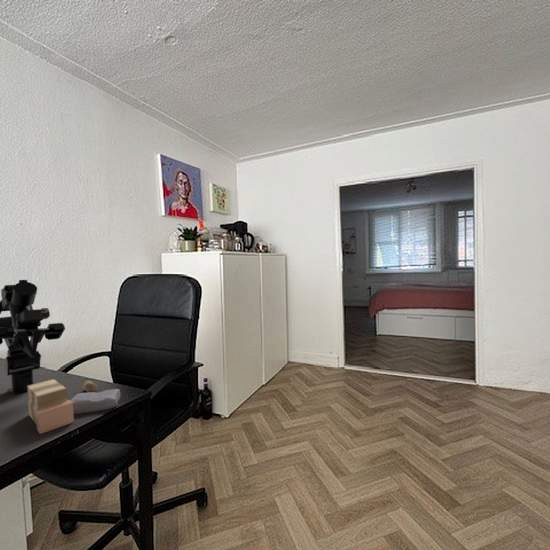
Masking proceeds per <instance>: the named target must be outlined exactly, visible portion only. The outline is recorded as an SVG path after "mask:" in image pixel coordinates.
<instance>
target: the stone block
mask: <svg viewBox="0 0 550 550" xmlns="http://www.w3.org/2000/svg"><path fill="white" fill-rule="evenodd" d="M120 400H121V390H120V389H119V388H111V389H105V390H103V391H100V392H97V391H96V392H90V393H89V392H87V391H86V392H79V393H77V394H76V395H75V396H73V397H72V398H71V399H70V401H71V402H73V415H79V414H85V413H91V412H92V413H93V412H94V413H95V412H101V411H105V410H106V411H107V410H110V409H115V408H116V407H118V403H119V401H120Z"/></svg>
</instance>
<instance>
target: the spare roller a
mask: <svg viewBox="0 0 550 550" xmlns="http://www.w3.org/2000/svg"><path fill="white" fill-rule="evenodd" d="M81 387H82V390H84V391H86V393H87V392H89V393H90V392H96V393H97V391H98V389H99V386H98V384H97V383H95V382H93V381H91V380H90V379H89V380H86V381H84V382H83V383H82V385H81Z"/></svg>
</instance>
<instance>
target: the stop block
mask: <svg viewBox="0 0 550 550" xmlns="http://www.w3.org/2000/svg"><path fill="white" fill-rule="evenodd" d="M74 416H75V414H73V402H71V399H67V401H63V402H60V403H57V404H53V405H50V406H46V407H43V408H40V409H36V423H37V425H36V430H37V432H38V434H39V435H41V434H44V433H47V432H50V431H52V430H57V429H58V428H62V427H64V426H67V425H70V424H73V423H74V422H75V421H74V418H75V417H74Z"/></svg>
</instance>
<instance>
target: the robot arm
mask: <svg viewBox="0 0 550 550" xmlns="http://www.w3.org/2000/svg"><path fill="white" fill-rule="evenodd" d="M37 291H38V286H36V284H35V283H32V282H28V279H19V280H18V283H15V284H6V285H4V286H3V288H1V291H0V293H1V300H0V315H1V314H2V312H9V313H10V316H2V317H0V345H2V344H3V342H4V343H5V344H6V347H7V352H6V355H7V356H5V359H4V365H3V371H4V374H5V375H6V376H7V377H9V376H10V379H11V388H8V389H7V391H8V392H10V393H13V394H14V395H16V394H20V393H24V392H28V390H27V386H28V385H32V384H35V380H34V371H35V370H39V369H40V368H41V359H42V354H40V352H39V350H38V344H39V343H41V342H42V340H43V338H45V339H46V340H48V341H51V340H58V339H60V338H61V337H62V335H63V333H64V331H65V330H66V327H65V324H64V323H62V322H55V323H48V325H47V327H42V328H39V327H40V326H41V325H42V322H41V321H44V320H46V319H49V318H50V316H51V313H50V309H49V308H48V307H41V308H40V309H33V305H34V303H35V300H36V296H37V294H38V292H37Z"/></svg>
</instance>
